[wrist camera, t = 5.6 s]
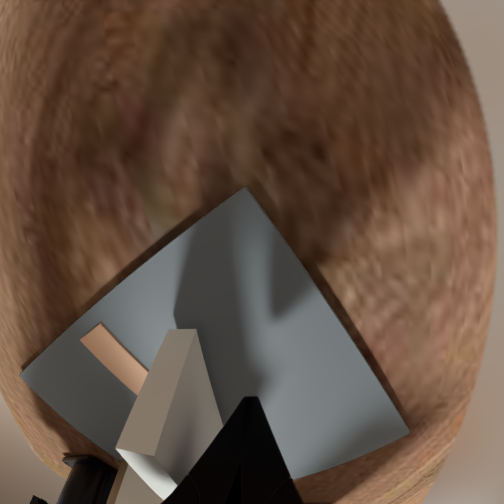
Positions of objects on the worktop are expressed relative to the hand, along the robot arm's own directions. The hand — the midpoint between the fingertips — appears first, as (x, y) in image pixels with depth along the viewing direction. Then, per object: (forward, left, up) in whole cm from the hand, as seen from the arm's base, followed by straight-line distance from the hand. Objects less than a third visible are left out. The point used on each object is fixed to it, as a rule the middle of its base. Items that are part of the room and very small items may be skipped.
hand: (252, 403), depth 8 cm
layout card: (-6, -3, -3) cm, 7 cm away
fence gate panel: (-3, 0, -2) cm, 3 cm away
